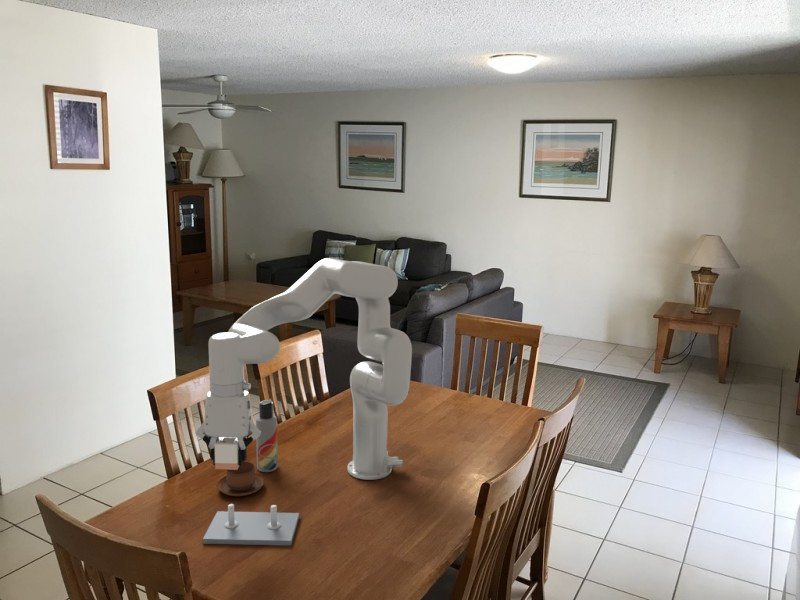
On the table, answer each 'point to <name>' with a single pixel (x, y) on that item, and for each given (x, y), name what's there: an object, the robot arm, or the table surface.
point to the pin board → (252, 527)
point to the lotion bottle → (266, 437)
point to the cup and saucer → (241, 481)
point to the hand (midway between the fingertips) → (229, 462)
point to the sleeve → (226, 453)
